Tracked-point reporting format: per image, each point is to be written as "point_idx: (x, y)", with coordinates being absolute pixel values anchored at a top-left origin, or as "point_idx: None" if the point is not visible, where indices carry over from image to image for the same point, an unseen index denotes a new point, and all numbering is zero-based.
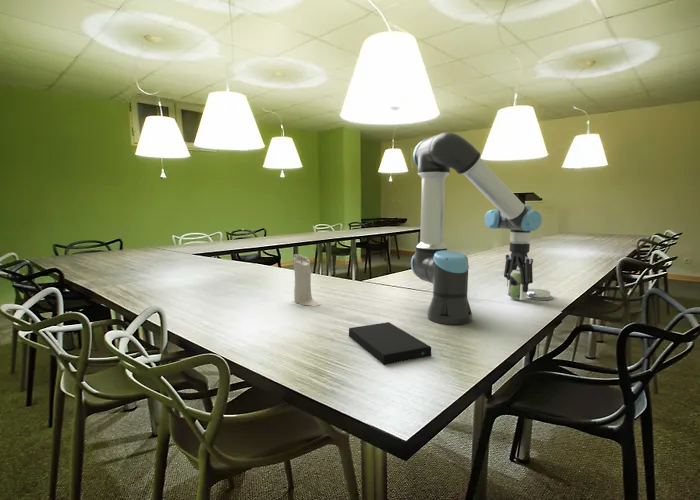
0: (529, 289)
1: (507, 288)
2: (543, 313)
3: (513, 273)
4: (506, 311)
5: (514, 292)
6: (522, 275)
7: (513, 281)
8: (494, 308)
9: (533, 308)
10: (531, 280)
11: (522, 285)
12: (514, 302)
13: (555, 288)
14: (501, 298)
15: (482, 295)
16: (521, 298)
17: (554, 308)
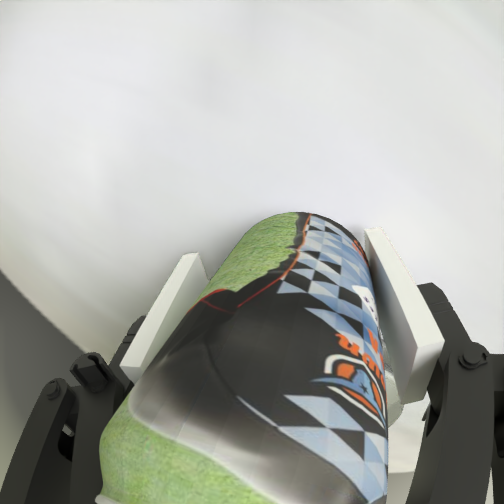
0: (388, 408)
1: (402, 261)
2: (9, 244)
3: (155, 500)
4: (11, 67)
5: (232, 254)
6: (79, 470)
7: (185, 338)
8: (60, 3)
9: (65, 246)
10: (73, 435)
11: (132, 358)
12: (200, 196)
13: (414, 458)
14: (358, 150)
15: (474, 52)
16: (181, 264)
17: (93, 339)
